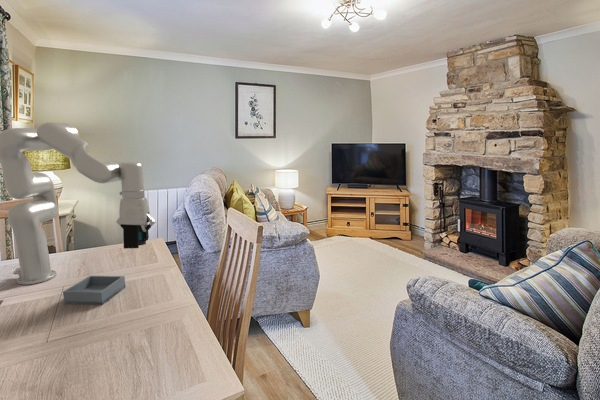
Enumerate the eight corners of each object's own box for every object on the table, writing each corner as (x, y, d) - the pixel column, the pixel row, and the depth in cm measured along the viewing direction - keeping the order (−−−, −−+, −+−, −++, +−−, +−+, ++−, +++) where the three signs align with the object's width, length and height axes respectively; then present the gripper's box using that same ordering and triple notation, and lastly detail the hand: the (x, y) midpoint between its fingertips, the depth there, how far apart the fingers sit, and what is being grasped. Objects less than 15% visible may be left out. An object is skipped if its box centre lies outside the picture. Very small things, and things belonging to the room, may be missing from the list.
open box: (64, 303, 113) (62, 291, 113) (91, 286, 127) (90, 275, 126) (102, 304, 113) (101, 292, 112) (125, 287, 126) (124, 276, 125)
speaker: (136, 249, 124) (135, 222, 123) (123, 248, 125) (121, 221, 125) (149, 245, 132) (148, 219, 131) (137, 244, 133) (136, 219, 132)
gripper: (105, 196, 122) (110, 243, 126) (150, 197, 121) (154, 244, 125) (117, 193, 130) (121, 237, 133) (160, 193, 129) (163, 238, 132)
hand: (137, 240), depth 129 cm, fingers closed on speaker, 5 cm apart
